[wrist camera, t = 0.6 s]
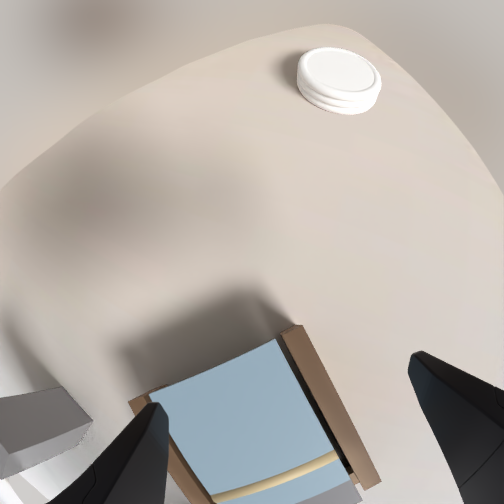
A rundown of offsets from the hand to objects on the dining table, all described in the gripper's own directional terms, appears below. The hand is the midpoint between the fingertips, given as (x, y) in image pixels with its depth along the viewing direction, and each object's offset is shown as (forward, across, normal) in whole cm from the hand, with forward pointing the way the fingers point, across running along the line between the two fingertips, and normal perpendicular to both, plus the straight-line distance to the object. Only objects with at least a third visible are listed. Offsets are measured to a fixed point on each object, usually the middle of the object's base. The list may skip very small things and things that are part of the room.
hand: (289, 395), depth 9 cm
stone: (+9, +23, +13) cm, 28 cm away
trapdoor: (+6, +3, +13) cm, 15 cm away
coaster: (+28, -13, -14) cm, 34 cm away
